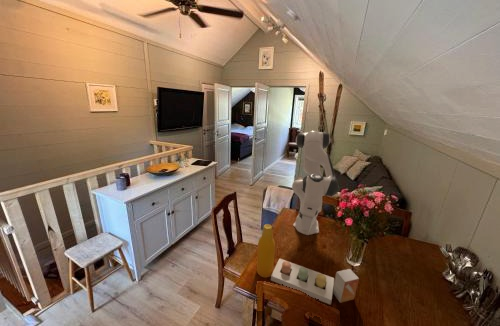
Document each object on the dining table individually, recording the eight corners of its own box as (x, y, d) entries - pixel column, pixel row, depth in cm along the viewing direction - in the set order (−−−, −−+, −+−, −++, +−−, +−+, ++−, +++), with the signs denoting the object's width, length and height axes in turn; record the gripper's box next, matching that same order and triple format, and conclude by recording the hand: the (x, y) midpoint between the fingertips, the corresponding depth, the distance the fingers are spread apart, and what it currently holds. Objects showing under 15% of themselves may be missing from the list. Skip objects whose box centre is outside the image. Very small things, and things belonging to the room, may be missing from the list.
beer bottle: (263, 281, 110) (266, 234, 101) (253, 269, 117) (255, 224, 108) (276, 273, 115) (280, 228, 106) (265, 262, 122) (268, 219, 113)
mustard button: (316, 279, 109) (317, 272, 108) (325, 282, 107) (326, 275, 106) (314, 286, 105) (316, 279, 104) (324, 289, 103) (325, 282, 102)
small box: (340, 303, 99) (345, 282, 95) (331, 291, 105) (335, 271, 101) (354, 299, 101) (359, 278, 97) (345, 288, 107) (349, 268, 103)
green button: (299, 272, 113) (300, 266, 111) (307, 276, 111) (308, 269, 109) (297, 279, 109) (298, 272, 107) (306, 282, 107) (307, 275, 105)
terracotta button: (283, 266, 116) (283, 260, 115) (291, 269, 114) (291, 263, 113) (280, 272, 112) (281, 266, 111) (288, 275, 110) (289, 269, 109)
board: (279, 262, 123) (279, 258, 122) (333, 282, 110) (334, 278, 109) (270, 280, 110) (271, 275, 110) (330, 304, 98) (331, 300, 97)
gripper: (311, 196, 116) (308, 218, 120) (300, 212, 99) (297, 237, 103) (322, 199, 113) (319, 222, 117) (314, 216, 96) (310, 242, 100)
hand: (309, 229), depth 110 cm, fingers open, 8 cm apart
